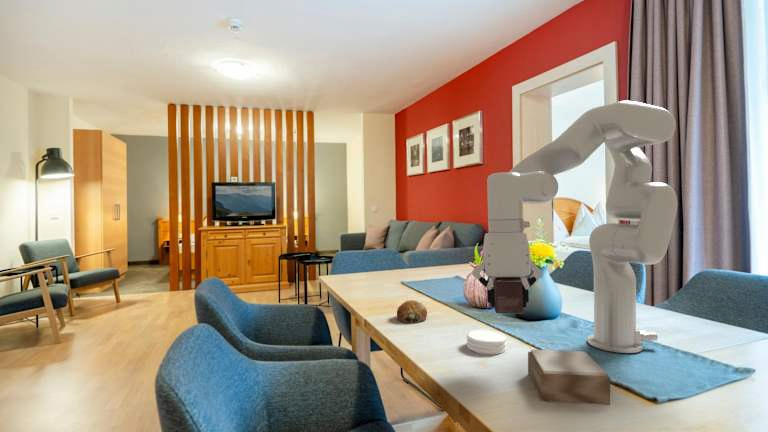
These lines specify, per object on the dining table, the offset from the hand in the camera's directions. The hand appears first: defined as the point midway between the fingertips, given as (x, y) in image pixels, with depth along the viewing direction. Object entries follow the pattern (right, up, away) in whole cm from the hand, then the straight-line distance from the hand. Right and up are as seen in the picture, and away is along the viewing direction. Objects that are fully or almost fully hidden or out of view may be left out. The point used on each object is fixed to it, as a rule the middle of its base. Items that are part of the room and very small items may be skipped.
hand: (507, 305), depth 92 cm
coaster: (-2, -14, +12) cm, 19 cm away
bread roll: (-19, -14, +40) cm, 46 cm away
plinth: (+8, -14, -11) cm, 20 cm away
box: (0, -1, 0) cm, 1 cm away
